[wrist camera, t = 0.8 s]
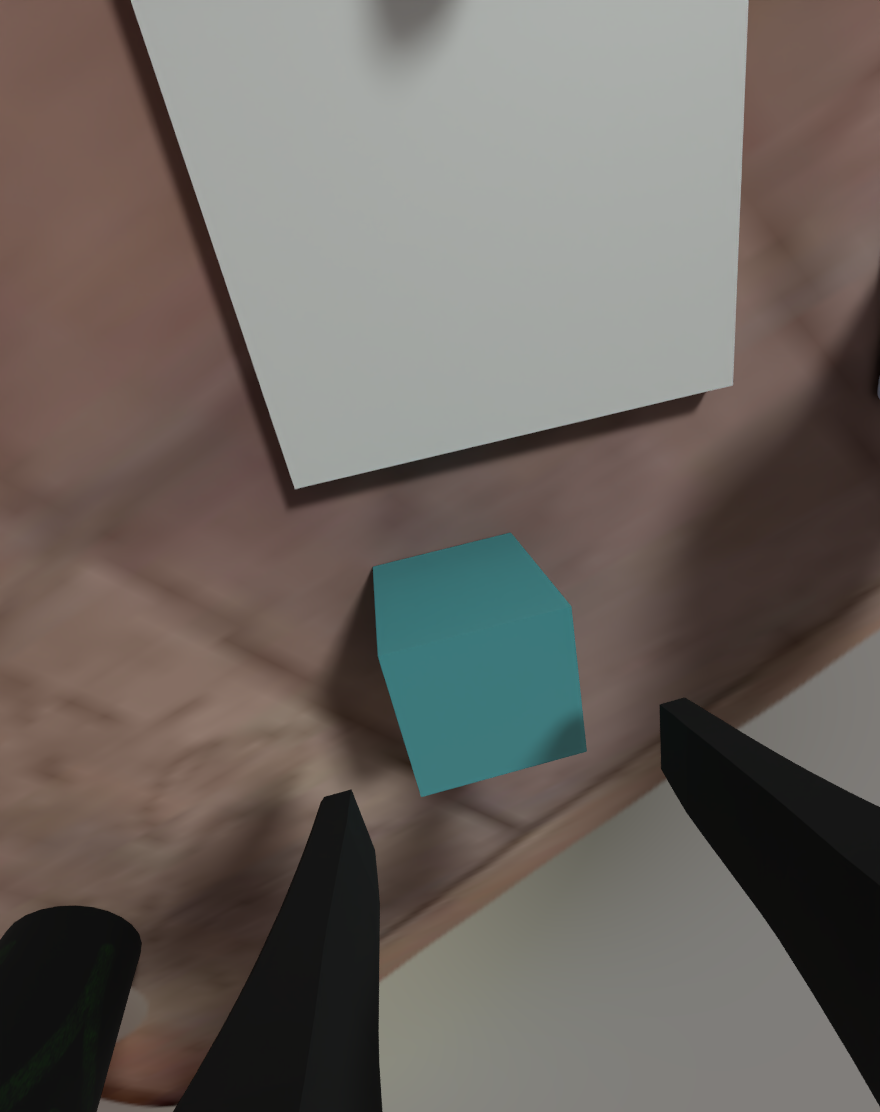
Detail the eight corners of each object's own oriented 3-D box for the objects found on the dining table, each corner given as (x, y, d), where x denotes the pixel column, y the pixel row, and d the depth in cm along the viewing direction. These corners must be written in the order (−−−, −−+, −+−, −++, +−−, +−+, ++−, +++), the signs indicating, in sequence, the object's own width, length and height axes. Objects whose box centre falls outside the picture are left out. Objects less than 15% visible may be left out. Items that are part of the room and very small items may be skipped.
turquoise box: (510, 532, 17) (571, 606, 12) (528, 647, 20) (586, 751, 14) (372, 566, 17) (377, 656, 12) (405, 680, 19) (421, 797, 14)
